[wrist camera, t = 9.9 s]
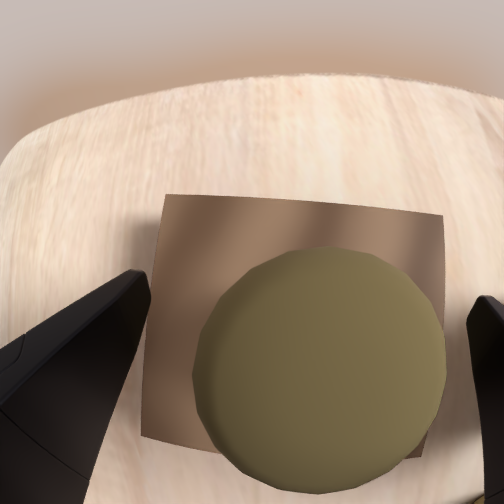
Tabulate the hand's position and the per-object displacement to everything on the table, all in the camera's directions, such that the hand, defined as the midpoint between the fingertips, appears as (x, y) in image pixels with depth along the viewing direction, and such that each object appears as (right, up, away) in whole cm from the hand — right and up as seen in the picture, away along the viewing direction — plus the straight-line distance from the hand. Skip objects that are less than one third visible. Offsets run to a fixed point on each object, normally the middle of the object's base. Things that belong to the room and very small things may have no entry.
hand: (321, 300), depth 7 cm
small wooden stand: (+1, -4, +11) cm, 12 cm away
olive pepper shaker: (+1, -3, +8) cm, 8 cm away
